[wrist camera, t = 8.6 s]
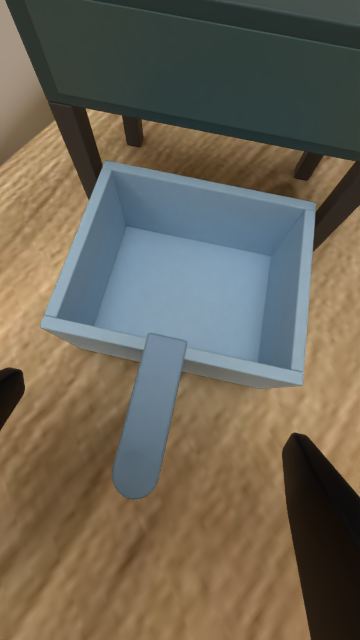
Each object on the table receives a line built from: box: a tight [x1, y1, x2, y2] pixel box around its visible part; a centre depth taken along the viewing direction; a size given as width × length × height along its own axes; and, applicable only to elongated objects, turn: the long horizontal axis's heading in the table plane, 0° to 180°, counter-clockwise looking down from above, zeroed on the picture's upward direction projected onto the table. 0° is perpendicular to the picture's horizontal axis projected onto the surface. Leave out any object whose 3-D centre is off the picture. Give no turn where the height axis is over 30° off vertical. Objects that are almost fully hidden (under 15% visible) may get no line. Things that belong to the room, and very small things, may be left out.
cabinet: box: [5, 0, 360, 252], centre depth 15 cm, size 10×16×12 cm, turn 78°
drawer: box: [40, 160, 316, 499], centre depth 13 cm, size 14×12×10 cm
